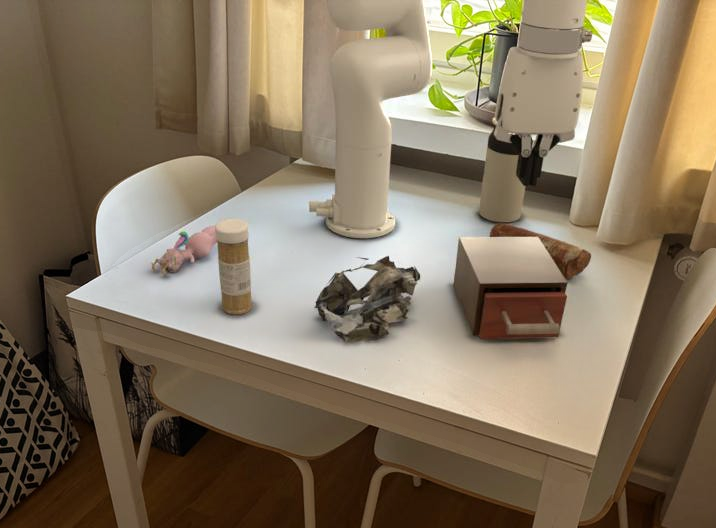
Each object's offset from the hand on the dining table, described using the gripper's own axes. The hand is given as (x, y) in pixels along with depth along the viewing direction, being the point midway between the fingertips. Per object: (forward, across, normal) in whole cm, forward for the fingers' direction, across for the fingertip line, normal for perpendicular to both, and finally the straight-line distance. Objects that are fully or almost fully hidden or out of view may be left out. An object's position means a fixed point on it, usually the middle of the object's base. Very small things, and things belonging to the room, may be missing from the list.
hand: (526, 182), depth 104 cm
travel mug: (+21, -8, -36) cm, 42 cm away
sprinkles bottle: (+21, +40, -3) cm, 45 cm away
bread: (+21, -9, -17) cm, 28 cm away
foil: (+21, +21, +1) cm, 30 cm away
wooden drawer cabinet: (+21, 0, -1) cm, 21 cm away
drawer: (+20, 0, +4) cm, 20 cm away
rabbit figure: (+20, +48, -19) cm, 55 cm away
